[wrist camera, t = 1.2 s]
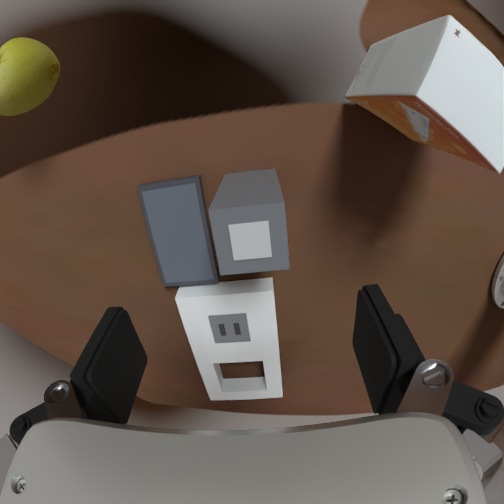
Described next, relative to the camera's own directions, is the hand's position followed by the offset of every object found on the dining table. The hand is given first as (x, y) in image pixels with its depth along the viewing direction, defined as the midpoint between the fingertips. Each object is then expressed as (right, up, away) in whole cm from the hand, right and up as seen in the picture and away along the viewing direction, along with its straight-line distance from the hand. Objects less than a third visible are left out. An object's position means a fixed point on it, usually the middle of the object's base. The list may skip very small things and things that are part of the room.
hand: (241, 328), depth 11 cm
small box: (+13, +18, +11) cm, 25 cm away
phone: (-7, +5, +18) cm, 20 cm away
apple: (-21, +21, +10) cm, 32 cm away
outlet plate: (-1, -8, +24) cm, 26 cm away
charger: (0, +8, +16) cm, 18 cm away
